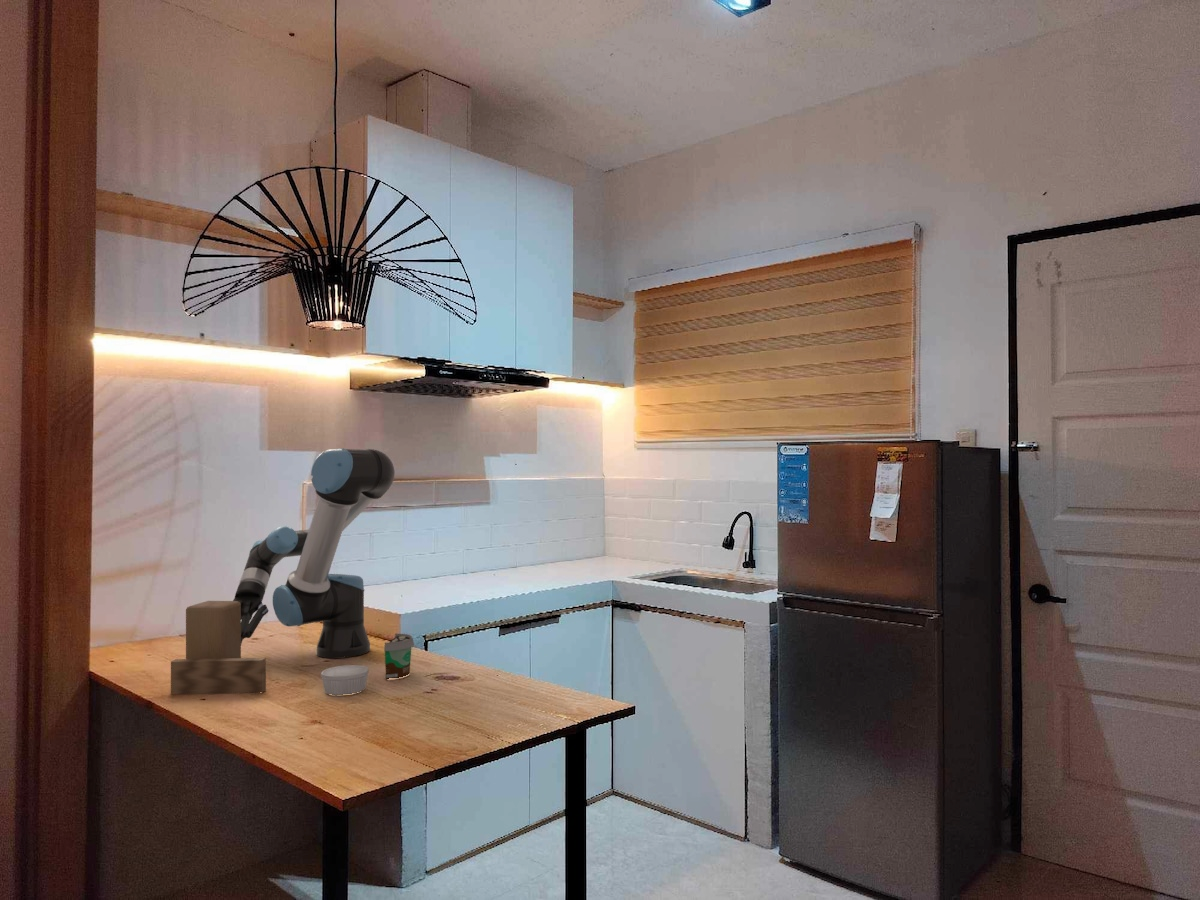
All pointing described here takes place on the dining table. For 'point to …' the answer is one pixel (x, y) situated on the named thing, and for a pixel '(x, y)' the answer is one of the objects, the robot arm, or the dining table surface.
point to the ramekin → (345, 679)
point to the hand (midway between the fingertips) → (228, 658)
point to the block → (213, 630)
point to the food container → (398, 656)
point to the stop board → (218, 676)
